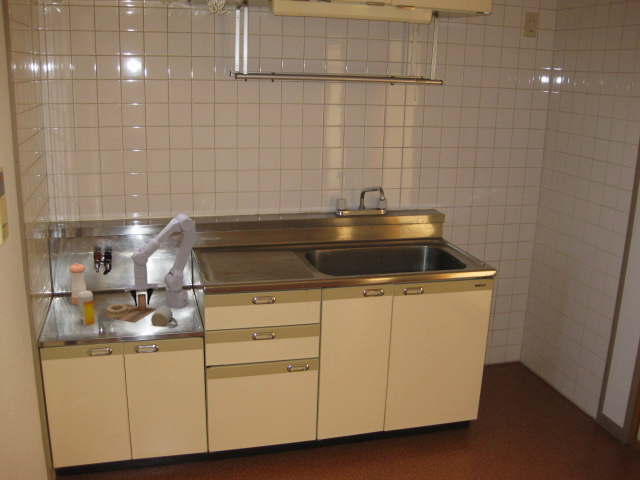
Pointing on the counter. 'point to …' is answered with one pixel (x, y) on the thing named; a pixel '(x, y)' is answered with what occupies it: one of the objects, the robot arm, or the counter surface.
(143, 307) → the peg
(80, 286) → the salt shaker
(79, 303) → the yellow labeled bottle
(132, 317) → the board
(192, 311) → the counter surface
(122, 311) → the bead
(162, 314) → the ceramic mug
